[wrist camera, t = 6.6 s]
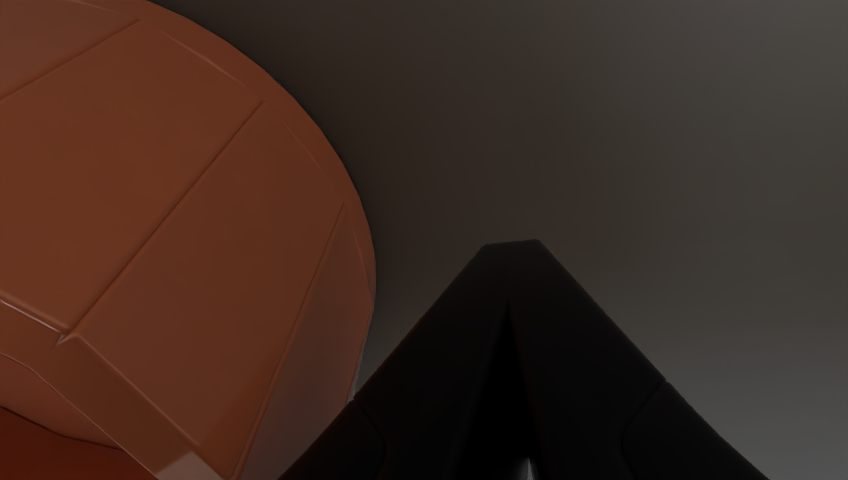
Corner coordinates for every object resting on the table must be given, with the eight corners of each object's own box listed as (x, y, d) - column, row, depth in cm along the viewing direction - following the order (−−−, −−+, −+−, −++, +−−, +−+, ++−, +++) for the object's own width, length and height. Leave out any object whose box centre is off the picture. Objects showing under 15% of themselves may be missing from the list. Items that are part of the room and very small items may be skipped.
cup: (422, 427, 13) (375, 776, 8) (11, 450, 14) (-221, 753, 10) (290, -82, 8) (23, 53, 4) (-283, 31, 10) (-963, 224, 5)
